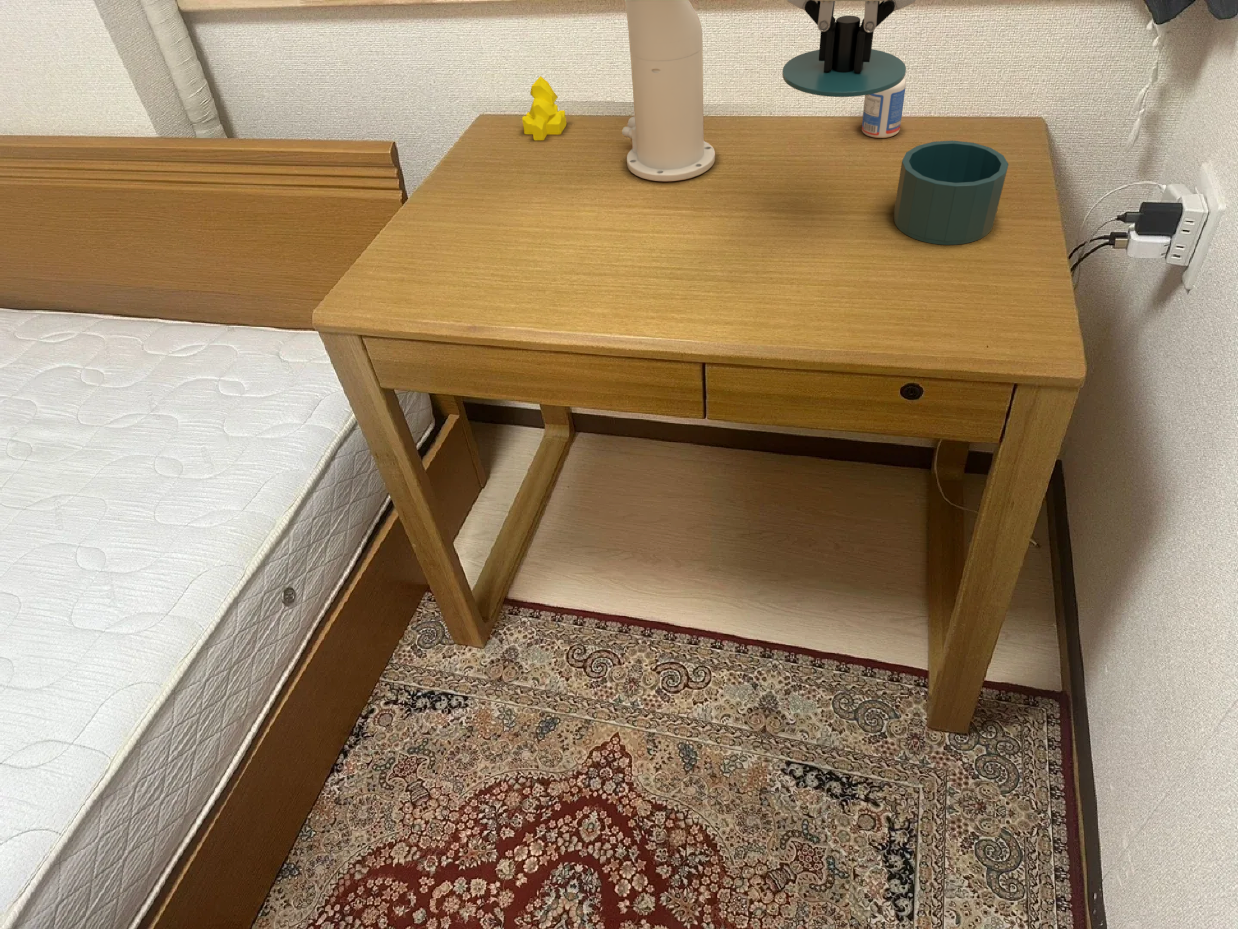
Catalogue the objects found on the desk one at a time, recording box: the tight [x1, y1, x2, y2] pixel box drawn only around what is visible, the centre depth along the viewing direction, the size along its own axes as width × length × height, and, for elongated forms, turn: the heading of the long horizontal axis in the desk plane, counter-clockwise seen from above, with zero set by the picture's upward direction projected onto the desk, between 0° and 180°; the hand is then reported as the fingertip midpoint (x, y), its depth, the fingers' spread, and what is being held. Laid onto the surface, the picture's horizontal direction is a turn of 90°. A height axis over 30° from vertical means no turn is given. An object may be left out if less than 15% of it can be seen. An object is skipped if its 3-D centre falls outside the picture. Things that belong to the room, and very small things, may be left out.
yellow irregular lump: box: [521, 75, 567, 141], centre depth 132 cm, size 6×8×8 cm
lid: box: [782, 15, 907, 98], centre depth 88 cm, size 13×13×6 cm
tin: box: [893, 140, 1009, 246], centre depth 102 cm, size 12×12×8 cm
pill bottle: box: [861, 56, 907, 139], centre depth 121 cm, size 6×5×10 cm
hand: (843, 66), depth 89 cm, fingers closed on lid, 2 cm apart
